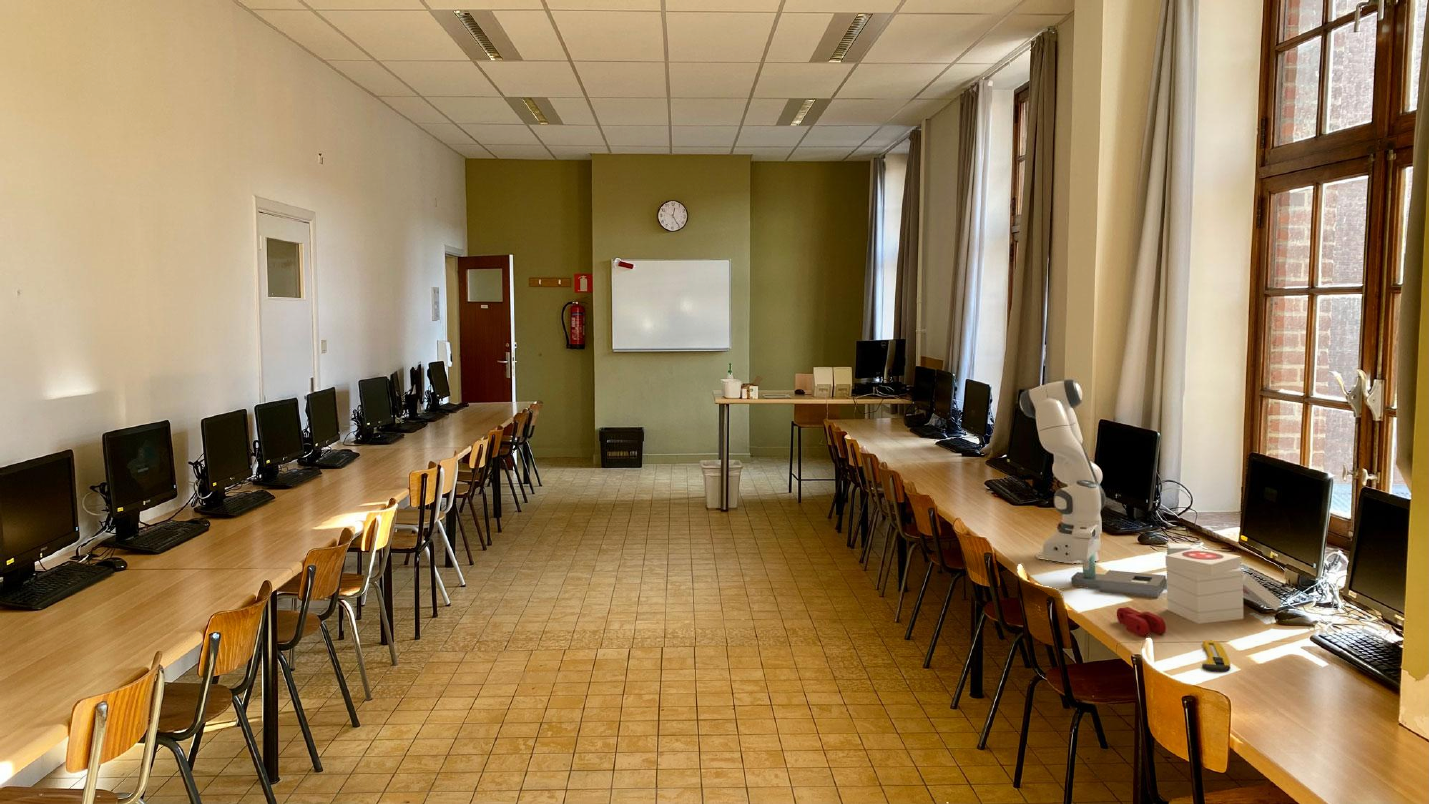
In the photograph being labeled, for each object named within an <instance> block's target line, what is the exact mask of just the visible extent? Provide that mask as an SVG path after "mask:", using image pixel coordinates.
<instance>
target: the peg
mask: <svg viewBox="0 0 1429 804" xmlns="http://www.w3.org/2000/svg"><path fill="white" fill-rule="evenodd" d="M1089 564H1090V569H1089V570H1085V569H1084V564H1083V563H1082V573H1083V577H1086V578H1094V577H1096V574H1097V573H1096V562H1095V553H1094V554H1093V555H1092V556H1091V557H1090V560H1089Z"/></svg>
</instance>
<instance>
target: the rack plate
mask: <svg viewBox="0 0 1429 804" xmlns="http://www.w3.org/2000/svg"><path fill="white" fill-rule="evenodd" d="M1070 582H1071V587H1075V586H1082V587H1081V588H1084V587H1088V588H1087V589H1094V588H1096V590H1099V592H1101V593H1108V594H1109V593H1110V594H1118V595H1129V596H1138V597H1144V598H1145V597H1146V598H1154V599H1155V598H1156V599H1158V598H1159V597H1160V596H1161V595H1162V593H1164V590H1165V589H1167V574H1166V575H1165V574H1164V575H1163V574H1156V573H1155V574H1154V573H1145V572H1133V571H1122V570H1113V569H1112V570H1111V569H1110V570H1108V571H1107V572H1105V574H1100V573H1096V577H1094V578H1086V577H1083V571H1082V572H1080V571H1077V572H1076V573H1075V574H1074V575H1072V576H1071V578H1070ZM1097 588H1098V589H1097Z"/></svg>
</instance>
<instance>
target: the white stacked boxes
mask: <svg viewBox="0 0 1429 804" xmlns="http://www.w3.org/2000/svg"><path fill="white" fill-rule="evenodd" d="M1165 566H1166V609H1167V611H1169V612H1171V613H1173V614H1176V615H1178V616H1181V617H1183V618H1185V619H1188V620H1190V621H1191V622H1194V623H1196V624H1199V625H1200V624H1208V623H1217V622H1225V621H1235V620H1243V619H1244V599H1245V600H1249V601H1252V602H1254V603H1256V604H1259V605H1262V606H1265V607H1267V608H1269V609H1273V610H1274V611H1278V609H1279V608H1280V606H1281V605H1282V603H1283V601H1282V600H1281V599H1279V598H1278V596H1276V595H1274V594H1273V593H1272V592H1271V591H1270V590H1268V588H1266V587H1265V586H1263V585H1262V584H1261V583H1260V582H1258V581H1257V580H1255V579H1254V578H1253V576H1250V574H1247V573H1245V572H1243V571H1244V570H1243V569H1241V568H1242V555H1236V554H1232V553H1231V554H1230V553H1225V552H1220V551H1215V550H1214V551H1213V550H1209V549H1204V548H1198V547H1194V548H1193V549H1190V550H1186V551H1182V552H1178V553H1174V554H1170V555H1167V554H1166V555H1165Z"/></svg>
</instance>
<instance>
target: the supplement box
mask: <svg viewBox="0 0 1429 804" xmlns="http://www.w3.org/2000/svg"><path fill="white" fill-rule="evenodd" d="M1190 549H1194V548H1193V546H1192V545H1191V544H1190V543H1186V542H1185V543H1178V542H1177V543H1176V542H1175V543H1174V542H1173V543H1172V542H1171V543H1170V542H1169V543H1166V555H1170V554H1174V553H1178V552H1182V551H1186V550H1190Z"/></svg>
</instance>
